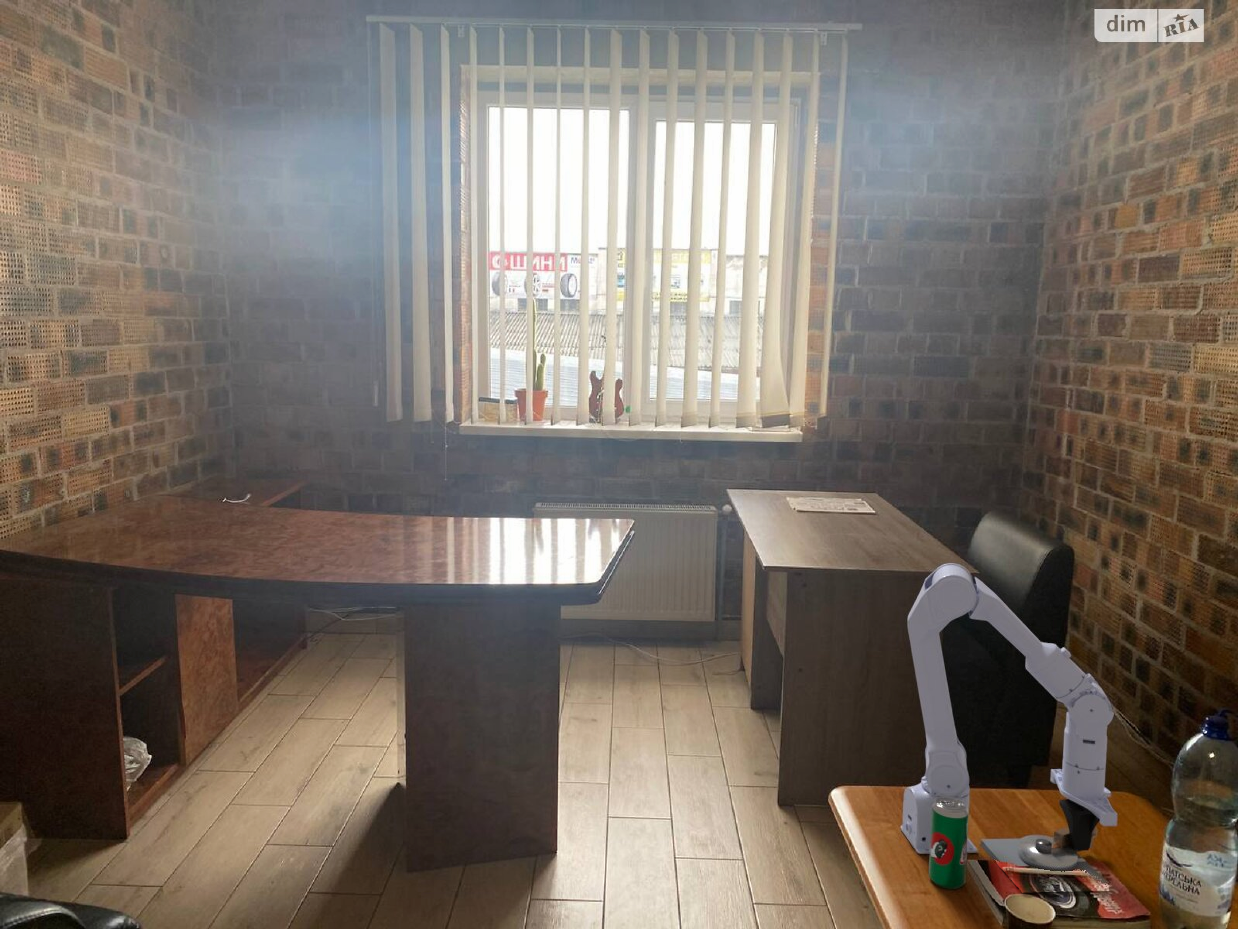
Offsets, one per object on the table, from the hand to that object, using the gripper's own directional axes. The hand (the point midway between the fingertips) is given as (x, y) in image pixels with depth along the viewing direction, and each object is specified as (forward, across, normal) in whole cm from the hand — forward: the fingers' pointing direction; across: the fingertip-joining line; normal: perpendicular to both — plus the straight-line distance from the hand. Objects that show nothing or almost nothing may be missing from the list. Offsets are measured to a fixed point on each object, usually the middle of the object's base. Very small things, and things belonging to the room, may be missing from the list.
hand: (1079, 848), depth 135 cm
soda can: (+3, -4, +22) cm, 23 cm away
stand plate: (+2, -1, +6) cm, 7 cm away
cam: (+1, +1, +2) cm, 3 cm away
